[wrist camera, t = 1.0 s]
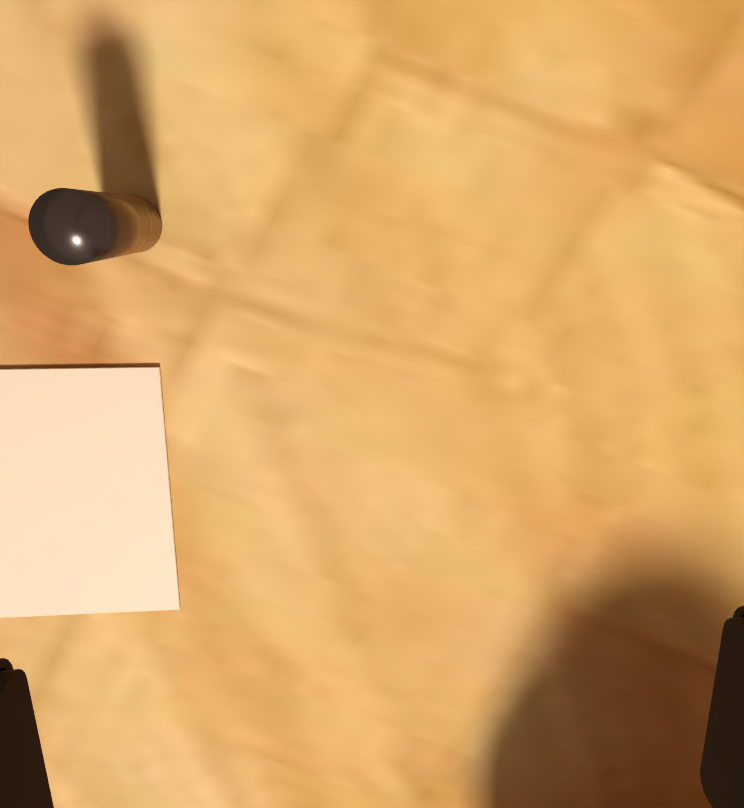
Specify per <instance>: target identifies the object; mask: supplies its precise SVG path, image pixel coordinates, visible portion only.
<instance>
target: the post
mask: <svg viewBox="0 0 744 808" xmlns="http://www.w3.org/2000/svg"><path fill="white" fill-rule="evenodd" d="M29 230H30V234H31V237H32V239H33V241H34V243H35V245H36V246H37V248H38V249H39V250H40V251H41V252H42V253H43V254H44V255H45V256H47V257H48V258H50V259H51V260H53V261H55V262H57V263H60V264H65V265H79V264H84V263H89V262H94V261H99V260H104V259H109V258H114V257H118V256H123V255H128V254H133V253H138V252H143V251H146V250H148V249H150V248H151V247H153V246H154V245H155V244H156V243H157V241H158V240H159V238H160V235H161V231H162V223H161V218H160V216H159V213H158V212H157V210H156V209H155V207H154V206H153V205H152V204H151V203H149V202H148V201H147V200H145V199H143V198H140V197H136V196H128V195H119V194H111V193H102V192H94V191H85V190H77V189H68V188H57V189H53V190H50V191H47V192H46V193H44V194H42V195H41V196H40V197H39V198H38V199H37V200H36V201H35V202H34V204H33V206H32V208H31V210H30V214H29Z"/></svg>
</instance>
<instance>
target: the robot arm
mask: <svg viewBox="0 0 744 808" xmlns="http://www.w3.org/2000/svg"><path fill="white" fill-rule="evenodd" d="M700 777H701V783H702V787H703V790H704V793H705V795H706V797H707V799H708V801H709V803H710V804H711V806H712V807H713V808H744V606H742V607H739V608H738V609H737V610H736V611H735V612H734V615H733V618H729V619H727V620H726V622H725V623H724V627H723V632H722V638H721V644H720V650H719V657H718V663H717V669H716V675H715V682H714V688H713V694H712V700H711V707H710V713H709V719H708V725H707V731H706V738H705V744H704V750H703V756H702V763H701V769H700ZM0 808H54V807H53V802H52V797H51V792H50V787H49V783H48V778H47V773H46V768H45V763H44V759H43V754H42V749H41V744H40V739H39V734H38V730H37V725H36V720H35V715H34V710H33V705H32V701H31V696H30V691H29V686H28V681H27V677H26V674H25V673H24V671H23V670H20V669H15V670H13V667H12V664H11V663H10V662H9V660H7V659H4V658H0Z"/></svg>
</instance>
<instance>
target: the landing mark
mask: <svg viewBox="0 0 744 808" xmlns="http://www.w3.org/2000/svg"><path fill="white" fill-rule="evenodd" d="M177 609H180V598H179V586H178V575H177V563H176V551H175V539H174V527H173V515H172V504H171V492H170V480H169V468H168V456H167V444H166V433H165V421H164V409H163V397H162V385H161V373H160V367H106V368H33V369H0V618H2V617H24V616H46V615H68V614H90V613H111V612H133V611H155V610H177Z"/></svg>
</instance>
